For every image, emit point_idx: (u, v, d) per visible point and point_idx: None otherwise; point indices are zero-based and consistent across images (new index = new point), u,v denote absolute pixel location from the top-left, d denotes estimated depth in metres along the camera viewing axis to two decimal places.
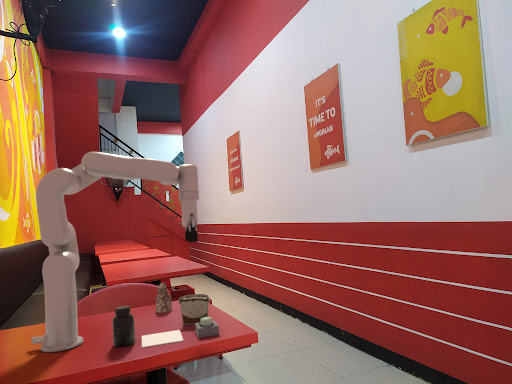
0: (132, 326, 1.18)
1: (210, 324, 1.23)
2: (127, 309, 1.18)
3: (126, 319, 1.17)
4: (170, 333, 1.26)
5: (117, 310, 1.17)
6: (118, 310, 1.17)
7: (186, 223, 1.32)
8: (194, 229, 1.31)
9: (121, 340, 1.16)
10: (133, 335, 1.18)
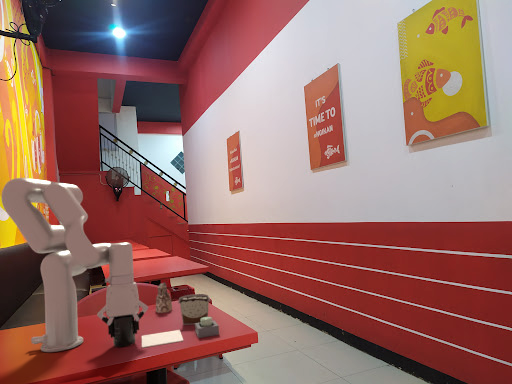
0: (132, 326, 1.18)
1: (210, 324, 1.23)
2: None
3: (126, 319, 1.17)
4: (170, 333, 1.26)
5: None
6: None
7: (138, 310, 1.19)
8: None
9: (121, 340, 1.16)
10: (133, 335, 1.18)
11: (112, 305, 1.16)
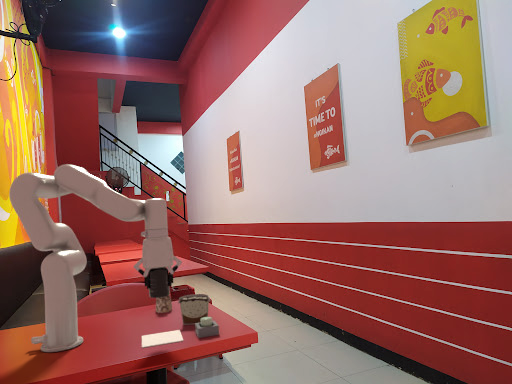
0: (167, 278, 1.22)
1: (210, 324, 1.23)
2: None
3: (162, 271, 1.21)
4: (170, 333, 1.26)
5: None
6: None
7: None
8: None
9: (157, 290, 1.19)
10: (168, 287, 1.22)
11: (148, 257, 1.20)
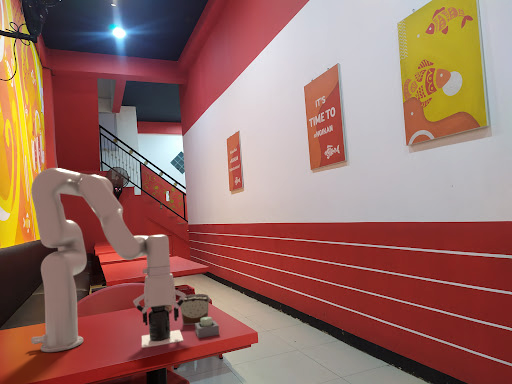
0: (168, 320, 1.21)
1: (210, 324, 1.23)
2: None
3: (162, 314, 1.19)
4: (170, 333, 1.26)
5: None
6: None
7: (175, 300, 1.22)
8: None
9: (158, 334, 1.18)
10: (169, 329, 1.21)
11: (150, 295, 1.19)
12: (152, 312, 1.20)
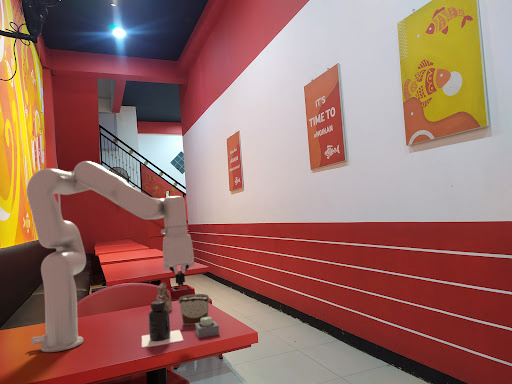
0: (168, 320, 1.21)
1: (210, 324, 1.23)
2: (163, 304, 1.21)
3: (162, 314, 1.19)
4: (170, 333, 1.26)
5: (153, 305, 1.20)
6: (154, 305, 1.20)
7: (193, 259, 1.24)
8: None
9: (158, 334, 1.18)
10: (168, 329, 1.21)
11: (169, 254, 1.21)
12: (152, 312, 1.20)
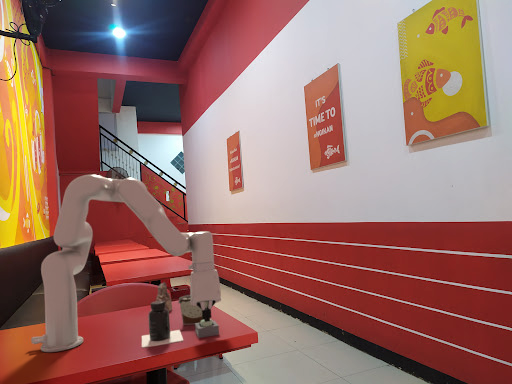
0: (168, 320, 1.21)
1: None
2: (163, 304, 1.21)
3: (162, 314, 1.19)
4: (170, 333, 1.26)
5: (153, 305, 1.20)
6: (154, 305, 1.20)
7: None
8: None
9: (158, 334, 1.18)
10: (168, 329, 1.21)
11: (197, 291, 1.22)
12: (152, 312, 1.20)
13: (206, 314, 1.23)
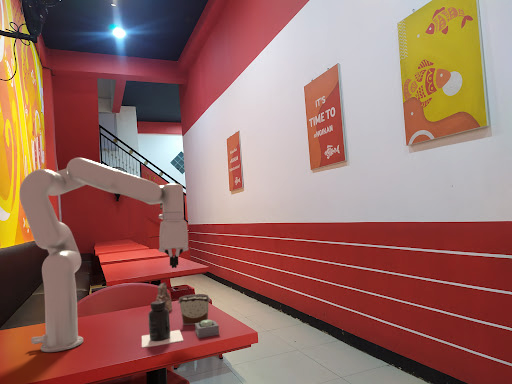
0: (168, 320, 1.21)
1: None
2: (163, 304, 1.21)
3: (162, 314, 1.19)
4: (170, 333, 1.26)
5: (153, 305, 1.20)
6: (154, 305, 1.20)
7: (187, 244, 1.32)
8: (179, 254, 1.33)
9: (158, 334, 1.18)
10: (168, 329, 1.21)
11: (165, 238, 1.29)
12: (152, 312, 1.20)
13: (173, 261, 1.30)
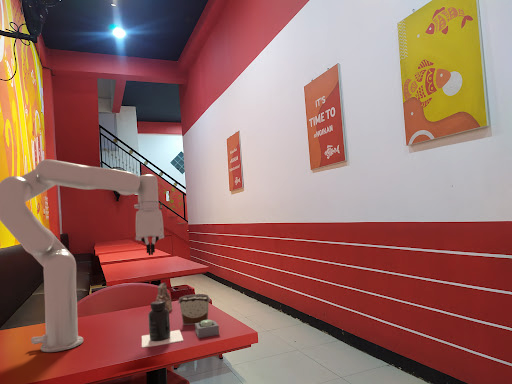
0: (168, 320, 1.21)
1: None
2: (163, 304, 1.21)
3: (162, 314, 1.19)
4: (170, 333, 1.26)
5: (153, 305, 1.20)
6: (154, 305, 1.20)
7: (163, 232, 1.38)
8: (155, 242, 1.39)
9: (158, 334, 1.18)
10: (168, 329, 1.21)
11: (141, 226, 1.35)
12: (152, 312, 1.20)
13: (149, 248, 1.37)
